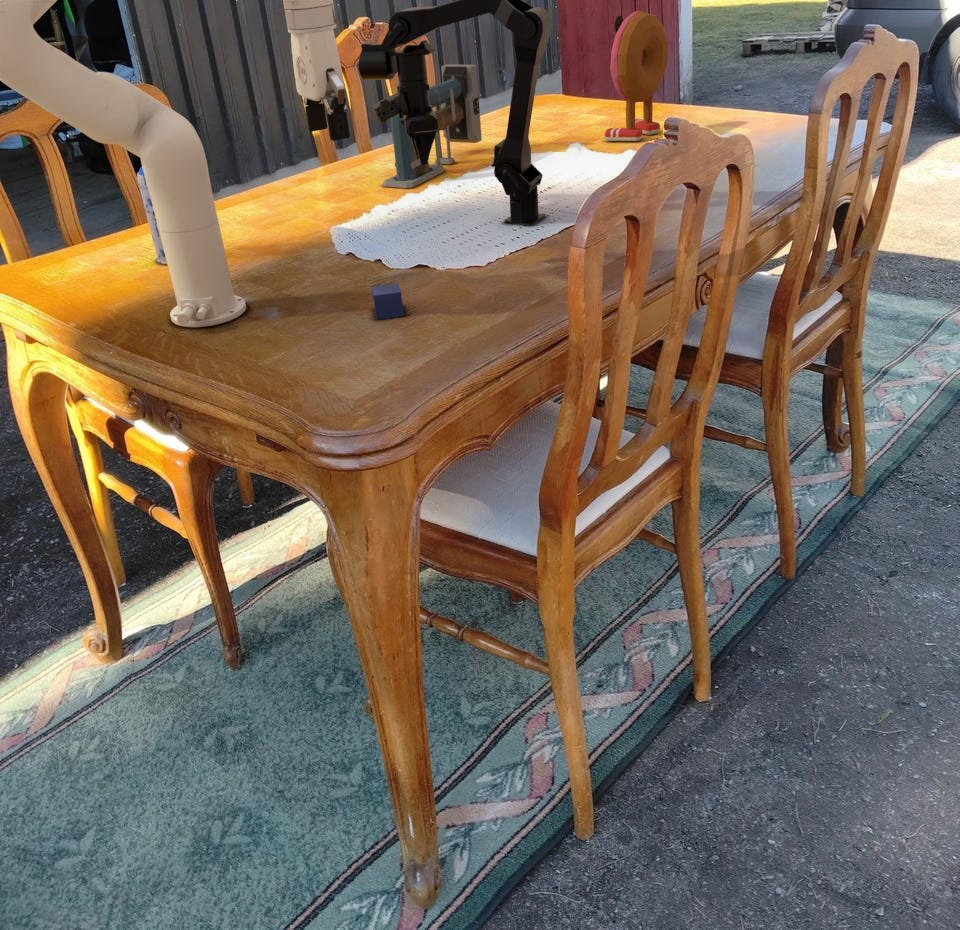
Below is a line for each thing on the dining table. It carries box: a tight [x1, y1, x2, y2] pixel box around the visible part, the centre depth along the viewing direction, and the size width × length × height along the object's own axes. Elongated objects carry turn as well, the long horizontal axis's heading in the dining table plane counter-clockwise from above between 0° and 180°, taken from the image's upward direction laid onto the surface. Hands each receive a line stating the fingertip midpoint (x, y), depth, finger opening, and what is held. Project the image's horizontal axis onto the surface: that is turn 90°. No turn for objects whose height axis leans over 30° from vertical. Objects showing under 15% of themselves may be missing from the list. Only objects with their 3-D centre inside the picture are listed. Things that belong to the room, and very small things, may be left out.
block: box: [371, 282, 405, 321], centre depth 158 cm, size 4×4×4 cm
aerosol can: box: [136, 166, 168, 265], centre depth 188 cm, size 8×8×20 cm
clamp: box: [382, 64, 483, 189], centre depth 235 cm, size 35×9×21 cm, turn 151°
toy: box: [604, 10, 669, 142], centre depth 247 cm, size 21×10×30 cm, turn 141°
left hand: (329, 134), depth 157 cm, fingers open, 9 cm apart
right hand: (421, 159), depth 199 cm, fingers open, 9 cm apart
